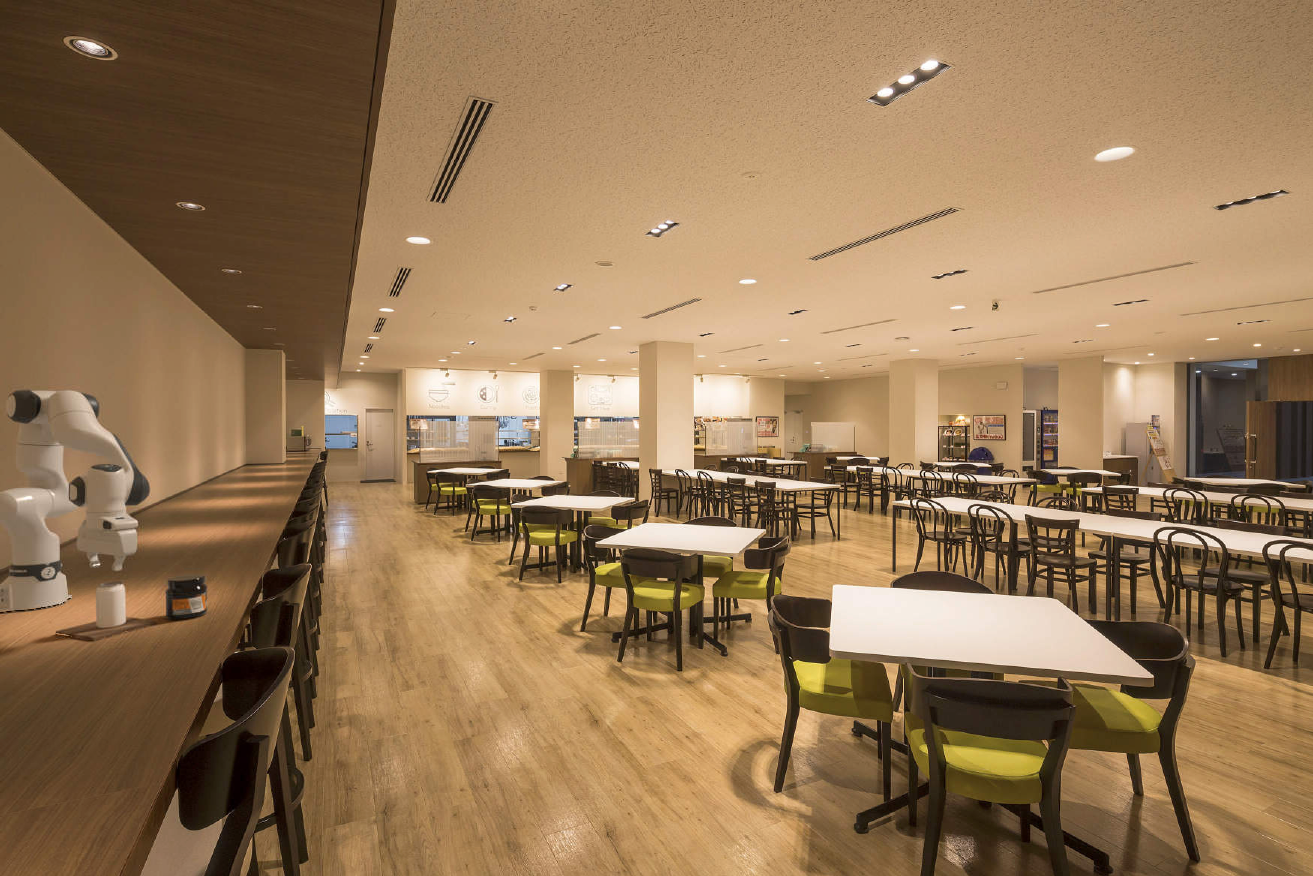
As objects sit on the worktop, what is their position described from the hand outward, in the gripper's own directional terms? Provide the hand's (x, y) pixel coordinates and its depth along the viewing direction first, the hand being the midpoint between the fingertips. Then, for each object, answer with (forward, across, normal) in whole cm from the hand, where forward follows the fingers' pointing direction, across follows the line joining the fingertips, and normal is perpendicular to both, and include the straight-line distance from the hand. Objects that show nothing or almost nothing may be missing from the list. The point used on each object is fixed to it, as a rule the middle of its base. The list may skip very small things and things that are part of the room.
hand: (105, 568), depth 184 cm
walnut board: (+18, +1, 0) cm, 18 cm away
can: (+17, +1, +1) cm, 17 cm away
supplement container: (+18, +9, +17) cm, 26 cm away
